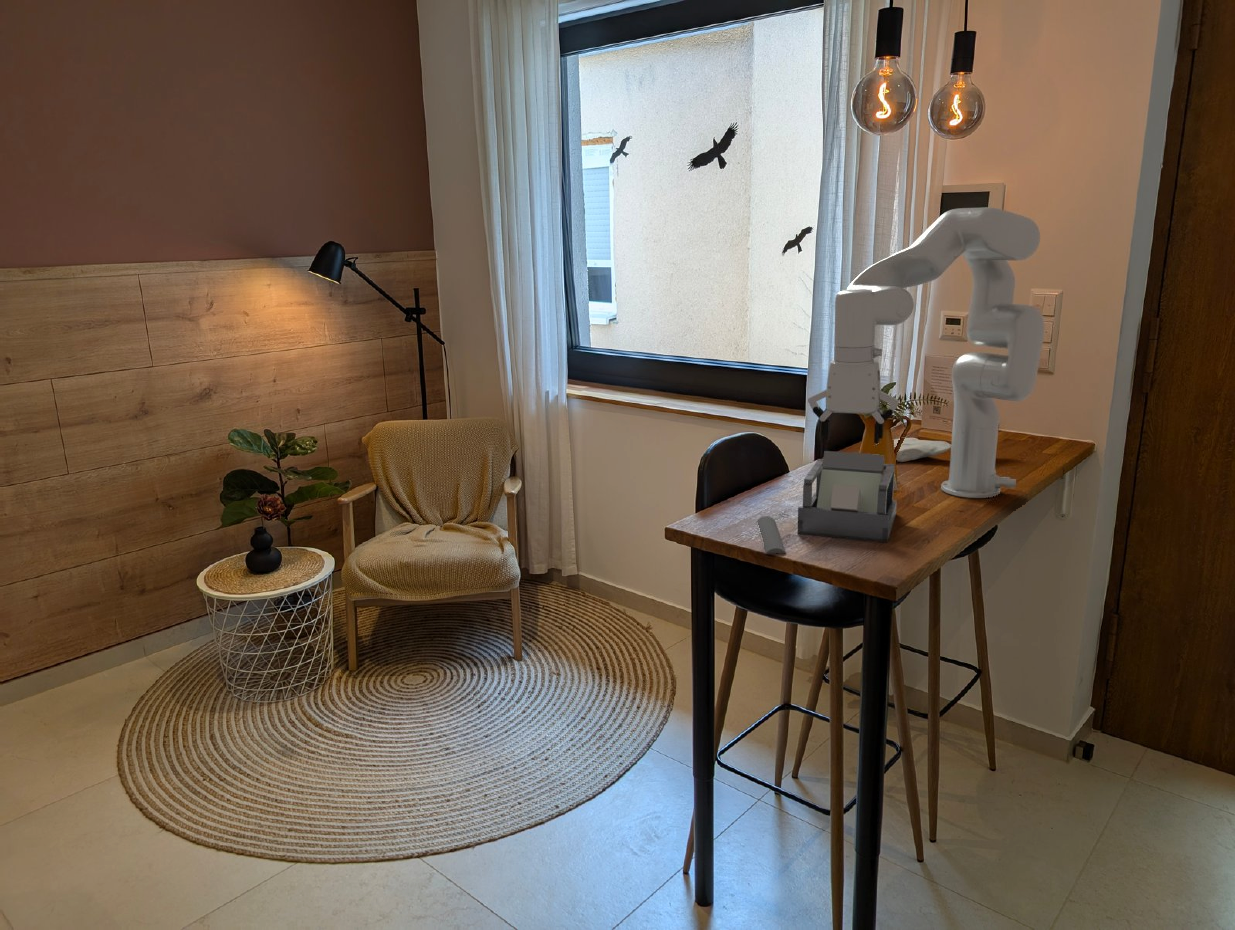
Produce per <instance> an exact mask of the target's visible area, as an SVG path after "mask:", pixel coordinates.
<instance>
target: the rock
mask: <svg viewBox="0 0 1235 930" xmlns="http://www.w3.org/2000/svg"><path fill="white" fill-rule="evenodd" d="M904 438H905V439H904V441H903V443H902V444H901V447H900V449H899V451H898V452H897V461H896V462H900V463H903V462H909V461H915V460H920V459H922V458H929V457H936V456H938V455H941V454H943V453H944V452H947V451H950V450H951V444H952V443H949V442H947V441H944V440H927V439H918V438H915V437H904ZM893 440H894V447H896V446H897V443H898V440H900V437H899V438H896V439H893Z"/></svg>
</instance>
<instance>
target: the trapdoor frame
mask: <svg viewBox="0 0 1235 930" xmlns="http://www.w3.org/2000/svg"><path fill="white" fill-rule="evenodd" d="M822 466H823V458H822V459H821V458H818V459H817V461H816V462H815V463H814V465H813V466H812V468H811V469H810V470H809V472H808V473H807V474H806V475H805V477H804V479H803V484H802V485H803V486H802V488H803V489H802V505H798V508H797V534H798V535H807V536H817V537H826V538H834V539H835V538H836V539H847V540H857V541H864V542H865V541H867V542H874V543H875V542H877V543H888V541H889V538H890V535H891V532H892V528H893V524H894V522H895V518H896V515H897V506H898V505H897V503H898V502H897V501H898V500H897V499H894V485H895V469H896V464H894V463H884V470H883V475H882V478H881V481H880V483H879V490H878V503H877V513H871V512H860V511H849V510H838V509H826V508H817V502H818V494H819V487H820V480H821V473H822V469H823V467H822ZM815 480H816V486H815V488H816V489H815V493H813V483H814V482H815Z"/></svg>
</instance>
